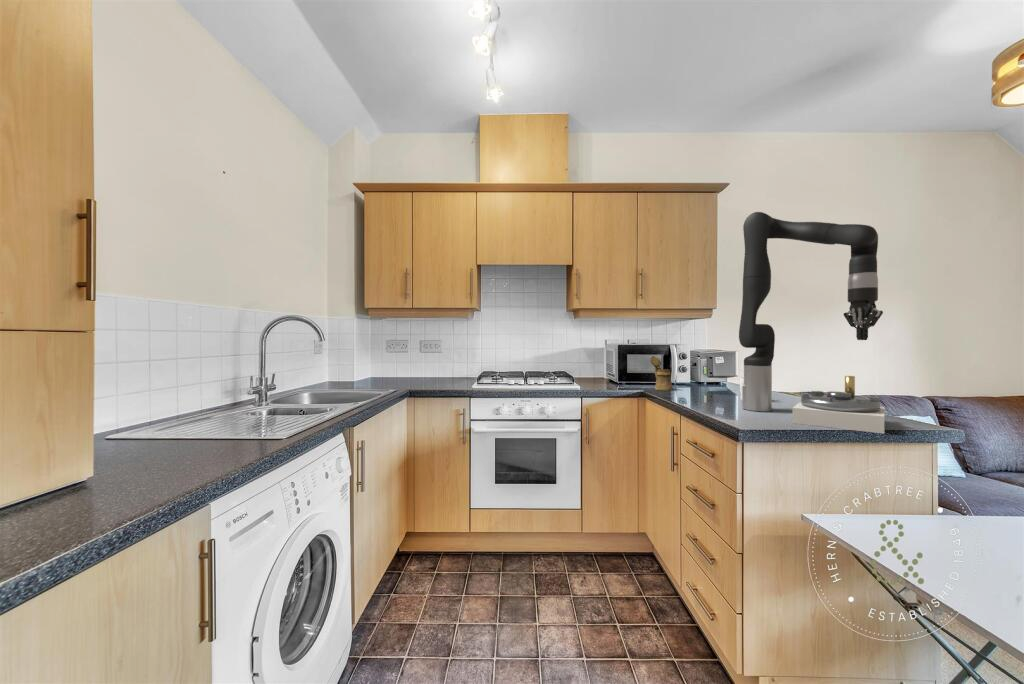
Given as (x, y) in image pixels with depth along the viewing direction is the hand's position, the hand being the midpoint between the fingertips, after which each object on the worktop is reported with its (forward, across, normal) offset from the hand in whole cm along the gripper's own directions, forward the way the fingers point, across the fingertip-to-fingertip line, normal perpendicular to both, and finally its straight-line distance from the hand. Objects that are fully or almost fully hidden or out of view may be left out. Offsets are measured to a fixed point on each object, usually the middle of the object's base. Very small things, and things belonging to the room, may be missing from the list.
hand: (862, 339), depth 132 cm
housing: (+27, -1, +8) cm, 28 cm away
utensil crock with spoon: (+28, +84, +36) cm, 96 cm away
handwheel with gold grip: (+22, -1, +9) cm, 23 cm away
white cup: (+28, +45, +11) cm, 54 cm away
